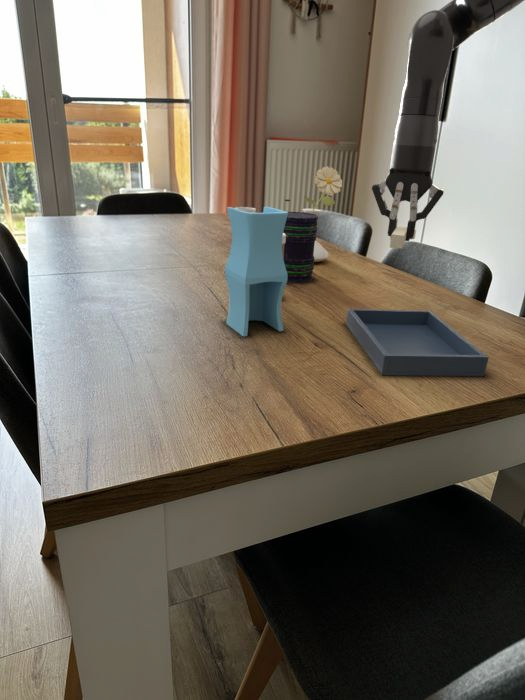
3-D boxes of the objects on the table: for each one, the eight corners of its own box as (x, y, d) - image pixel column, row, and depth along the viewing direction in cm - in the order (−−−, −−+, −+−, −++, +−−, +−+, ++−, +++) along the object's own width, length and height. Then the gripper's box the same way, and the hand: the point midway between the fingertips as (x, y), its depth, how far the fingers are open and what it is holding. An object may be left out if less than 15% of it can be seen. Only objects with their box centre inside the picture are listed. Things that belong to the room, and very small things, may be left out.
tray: (427, 326, 96) (430, 310, 94) (484, 376, 76) (488, 357, 75) (346, 324, 94) (347, 308, 93) (381, 375, 74) (384, 355, 73)
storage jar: (319, 278, 125) (327, 201, 119) (300, 285, 118) (306, 204, 111) (285, 270, 130) (290, 197, 123) (263, 278, 123) (268, 200, 116)
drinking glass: (229, 238, 167) (230, 207, 164) (245, 237, 172) (246, 206, 168) (242, 242, 163) (244, 210, 159) (258, 240, 167) (260, 209, 163)
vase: (262, 317, 96) (268, 206, 88) (283, 330, 89) (292, 212, 82) (223, 321, 92) (226, 206, 84) (243, 336, 86) (248, 213, 78)
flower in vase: (288, 264, 138) (296, 165, 128) (285, 255, 148) (292, 163, 139) (337, 266, 138) (347, 168, 129) (330, 257, 149) (339, 166, 139)
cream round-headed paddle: (390, 234, 107) (392, 222, 106) (415, 236, 106) (417, 224, 105) (381, 246, 93) (383, 233, 92) (409, 249, 92) (412, 236, 91)
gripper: (454, 146, 94) (437, 240, 101) (378, 141, 98) (366, 233, 105) (454, 145, 88) (436, 247, 94) (373, 141, 92) (361, 238, 98)
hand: (399, 239), depth 99 cm, fingers closed on cream round-headed paddle, 2 cm apart
